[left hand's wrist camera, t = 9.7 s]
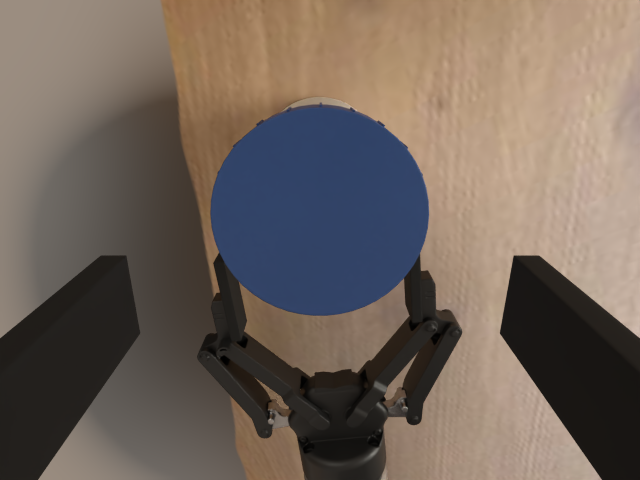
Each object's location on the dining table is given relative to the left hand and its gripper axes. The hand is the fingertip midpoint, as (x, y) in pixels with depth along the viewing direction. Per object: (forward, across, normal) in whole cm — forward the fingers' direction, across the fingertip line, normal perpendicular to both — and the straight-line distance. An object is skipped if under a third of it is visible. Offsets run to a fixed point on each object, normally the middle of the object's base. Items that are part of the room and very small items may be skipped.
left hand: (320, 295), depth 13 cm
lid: (+7, 0, 0) cm, 7 cm away
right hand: (+17, 0, +5) cm, 18 cm away
